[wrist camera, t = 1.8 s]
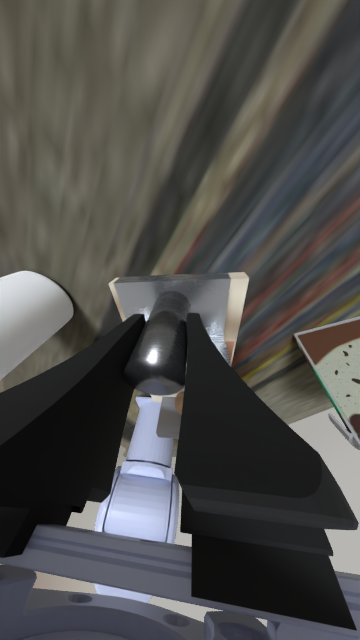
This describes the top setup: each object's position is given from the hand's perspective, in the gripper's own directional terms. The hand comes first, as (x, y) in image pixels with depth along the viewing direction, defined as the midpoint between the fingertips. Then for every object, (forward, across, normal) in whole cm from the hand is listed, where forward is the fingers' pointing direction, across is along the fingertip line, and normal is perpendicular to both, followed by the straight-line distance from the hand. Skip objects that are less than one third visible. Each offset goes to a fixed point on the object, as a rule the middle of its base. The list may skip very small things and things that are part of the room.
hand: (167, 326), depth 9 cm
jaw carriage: (+4, 0, +1) cm, 4 cm away
